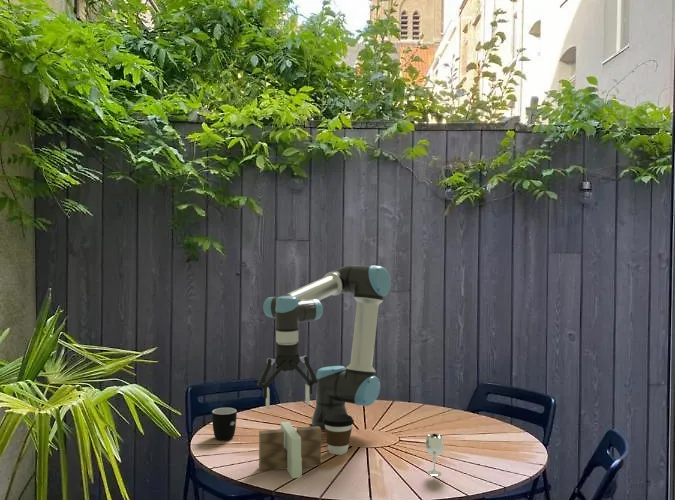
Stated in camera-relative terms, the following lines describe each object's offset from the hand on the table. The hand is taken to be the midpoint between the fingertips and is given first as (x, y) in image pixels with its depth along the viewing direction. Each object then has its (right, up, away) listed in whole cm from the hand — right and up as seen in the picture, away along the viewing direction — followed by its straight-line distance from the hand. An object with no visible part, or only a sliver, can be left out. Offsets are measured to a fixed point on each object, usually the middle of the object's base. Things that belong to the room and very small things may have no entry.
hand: (287, 405), depth 205 cm
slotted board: (+1, -18, -5) cm, 19 cm away
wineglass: (+47, -19, -10) cm, 52 cm away
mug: (-25, -18, +24) cm, 40 cm away
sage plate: (+1, -18, -5) cm, 19 cm away
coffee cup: (+17, -19, +9) cm, 27 cm away
